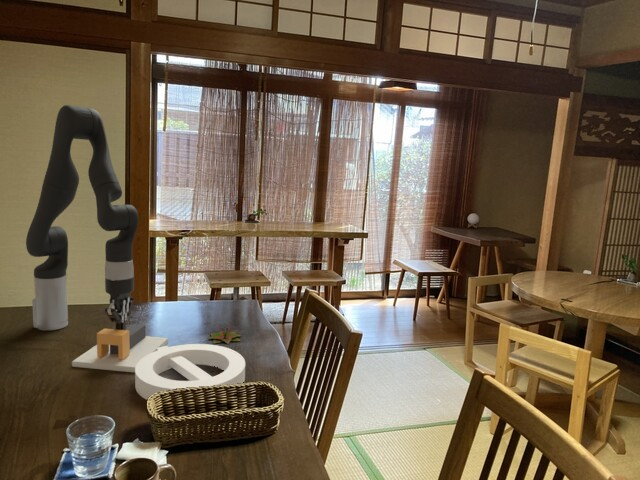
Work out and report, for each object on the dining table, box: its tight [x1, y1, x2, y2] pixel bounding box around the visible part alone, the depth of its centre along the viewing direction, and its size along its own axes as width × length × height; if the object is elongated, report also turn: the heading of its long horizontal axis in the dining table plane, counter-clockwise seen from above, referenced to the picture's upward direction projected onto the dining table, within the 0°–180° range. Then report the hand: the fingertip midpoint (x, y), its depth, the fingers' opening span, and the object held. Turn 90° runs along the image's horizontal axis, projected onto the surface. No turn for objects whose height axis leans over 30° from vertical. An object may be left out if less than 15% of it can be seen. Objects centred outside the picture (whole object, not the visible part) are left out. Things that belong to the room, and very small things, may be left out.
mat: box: [71, 335, 169, 373], centre depth 144 cm, size 18×22×2 cm
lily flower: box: [208, 324, 242, 345], centre depth 160 cm, size 12×12×5 cm
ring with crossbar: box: [134, 343, 246, 401], centre depth 130 cm, size 28×28×5 cm
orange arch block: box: [96, 327, 130, 360], centre depth 138 cm, size 7×4×7 cm, turn 84°
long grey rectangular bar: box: [110, 323, 146, 354], centre depth 146 cm, size 4×14×4 cm, turn 174°
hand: (120, 333), depth 141 cm, fingers closed
